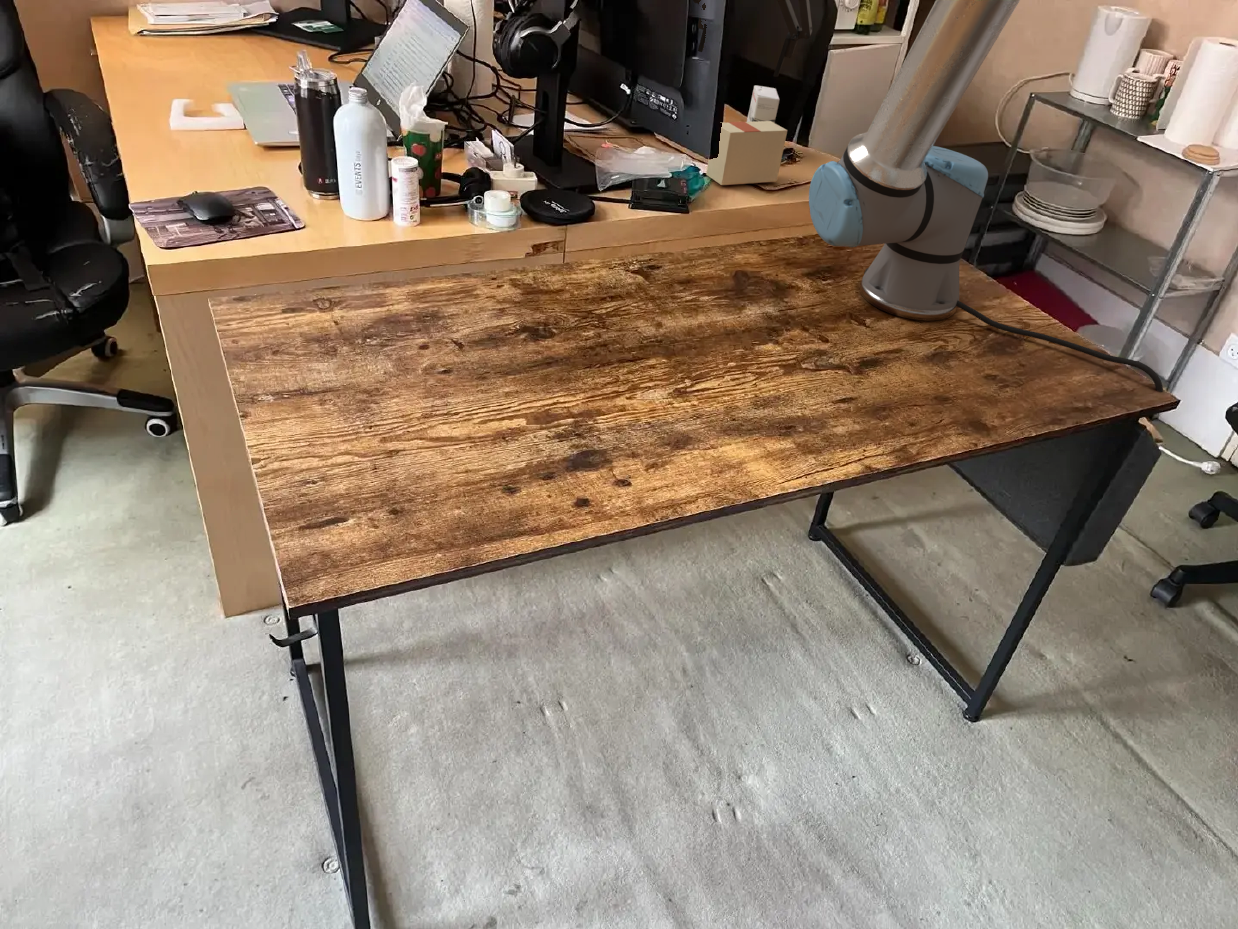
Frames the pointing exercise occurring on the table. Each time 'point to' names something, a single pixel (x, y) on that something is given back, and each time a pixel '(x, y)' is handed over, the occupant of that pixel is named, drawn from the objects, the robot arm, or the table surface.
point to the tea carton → (748, 153)
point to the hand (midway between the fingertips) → (738, 61)
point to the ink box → (763, 104)
